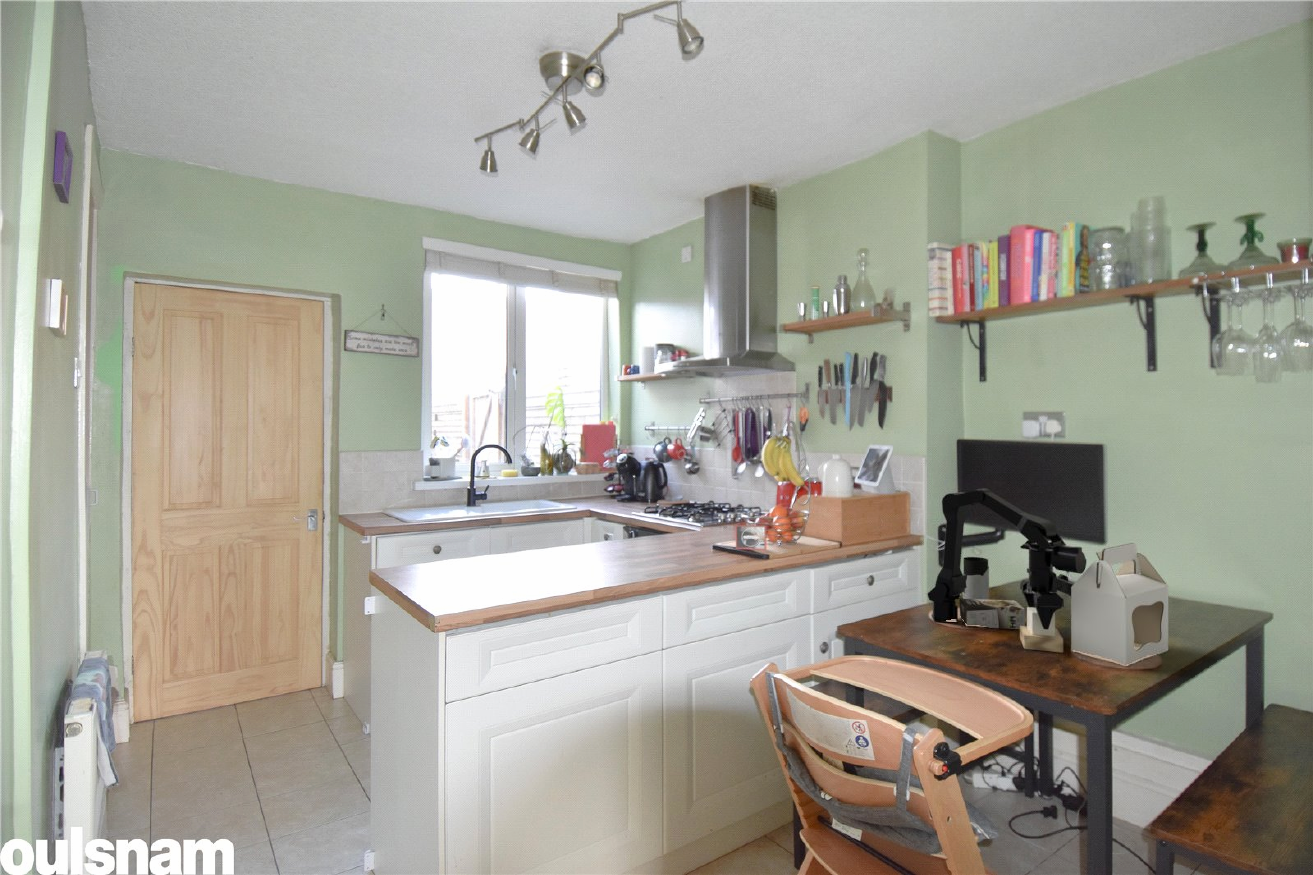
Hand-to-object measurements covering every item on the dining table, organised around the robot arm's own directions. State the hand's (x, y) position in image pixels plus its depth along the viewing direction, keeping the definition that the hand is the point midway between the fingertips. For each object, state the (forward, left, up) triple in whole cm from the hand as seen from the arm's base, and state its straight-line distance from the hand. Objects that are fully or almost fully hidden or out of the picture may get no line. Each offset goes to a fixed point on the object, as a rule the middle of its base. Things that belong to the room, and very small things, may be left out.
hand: (1040, 624), depth 182 cm
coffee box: (-1, +18, -3) cm, 18 cm away
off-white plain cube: (0, 0, -2) cm, 2 cm away
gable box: (+18, -1, -6) cm, 19 cm away
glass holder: (-12, +41, -6) cm, 43 cm away
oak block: (0, 0, -6) cm, 6 cm away
